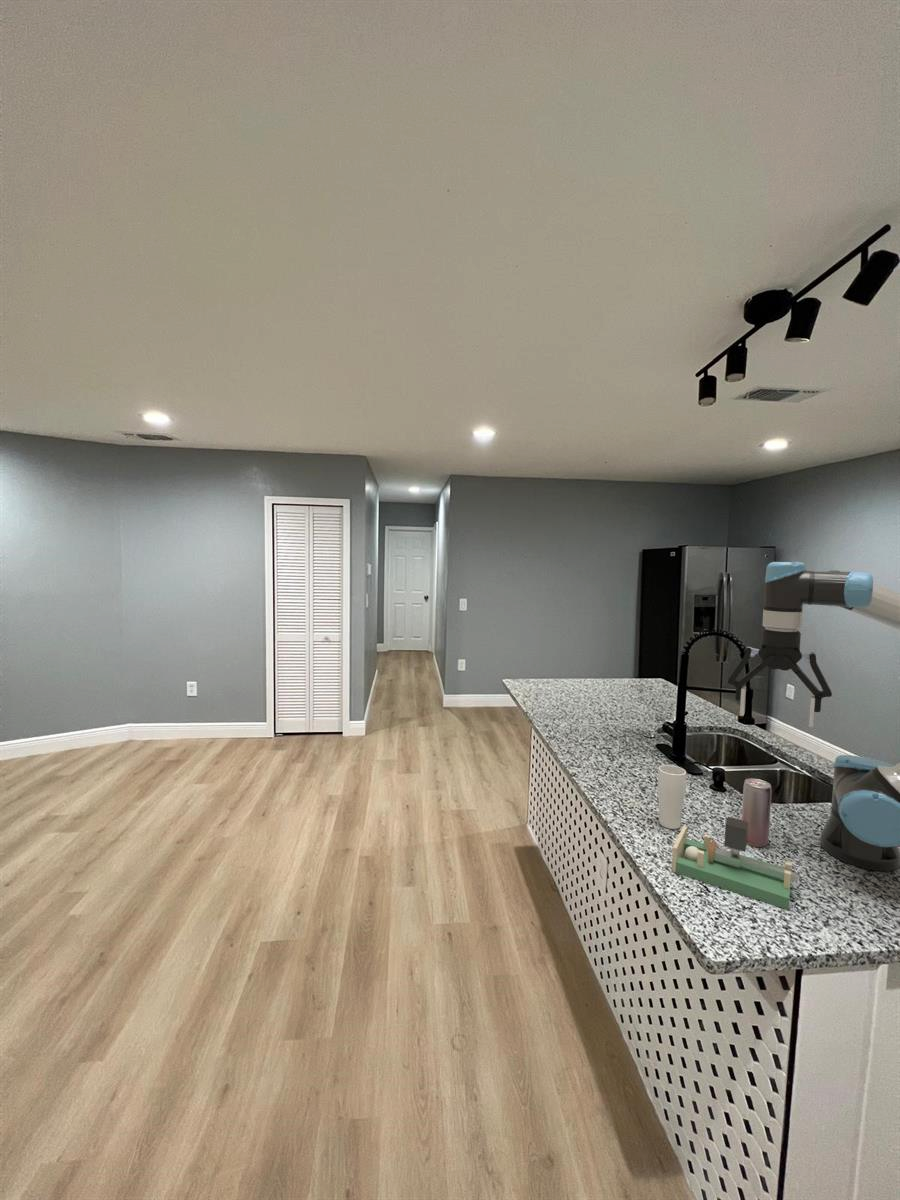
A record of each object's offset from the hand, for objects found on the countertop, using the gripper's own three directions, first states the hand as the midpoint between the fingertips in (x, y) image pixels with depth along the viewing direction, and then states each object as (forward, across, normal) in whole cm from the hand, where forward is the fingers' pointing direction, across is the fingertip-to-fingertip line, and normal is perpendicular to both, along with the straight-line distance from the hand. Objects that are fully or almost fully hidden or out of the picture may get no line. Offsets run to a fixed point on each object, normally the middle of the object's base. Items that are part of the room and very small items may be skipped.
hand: (775, 719), depth 121 cm
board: (+33, +6, +14) cm, 36 cm away
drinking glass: (+33, +22, -1) cm, 40 cm away
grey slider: (+30, +2, +14) cm, 33 cm away
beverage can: (+33, +3, -5) cm, 33 cm away
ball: (+31, +14, +14) cm, 37 cm away
